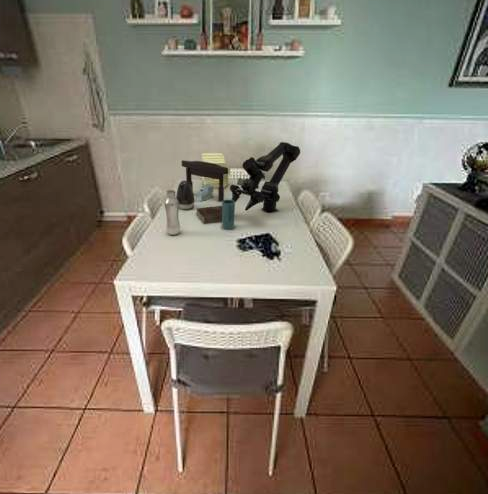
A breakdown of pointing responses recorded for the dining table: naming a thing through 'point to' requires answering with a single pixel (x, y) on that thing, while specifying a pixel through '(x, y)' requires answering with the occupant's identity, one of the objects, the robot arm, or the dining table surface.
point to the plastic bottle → (172, 213)
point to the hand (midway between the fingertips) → (238, 207)
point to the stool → (205, 171)
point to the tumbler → (228, 214)
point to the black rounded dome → (185, 195)
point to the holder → (210, 214)
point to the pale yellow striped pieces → (219, 160)
